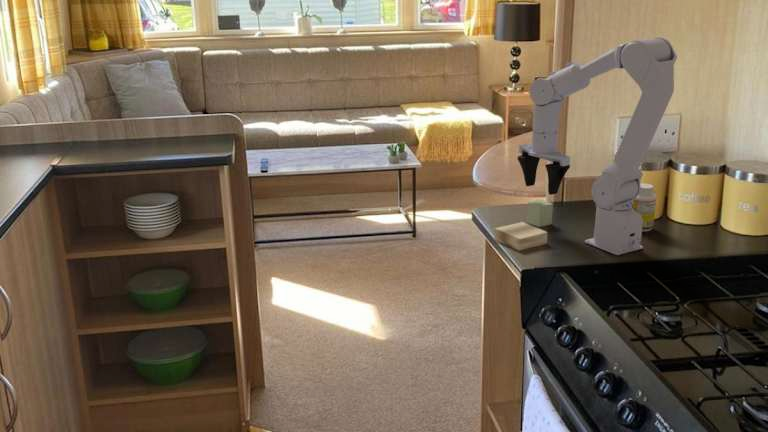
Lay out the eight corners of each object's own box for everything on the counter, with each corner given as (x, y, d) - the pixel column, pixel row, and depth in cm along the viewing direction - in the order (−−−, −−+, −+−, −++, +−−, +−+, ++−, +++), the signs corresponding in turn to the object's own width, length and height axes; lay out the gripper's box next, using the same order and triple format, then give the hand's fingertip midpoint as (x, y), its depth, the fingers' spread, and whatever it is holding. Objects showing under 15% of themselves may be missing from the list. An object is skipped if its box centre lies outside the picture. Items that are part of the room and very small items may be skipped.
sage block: (551, 224, 184) (553, 203, 182) (538, 227, 182) (540, 206, 180) (539, 219, 187) (540, 199, 185) (526, 222, 185) (528, 202, 183)
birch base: (546, 245, 171) (547, 232, 170) (518, 252, 167) (519, 238, 166) (521, 234, 178) (522, 221, 177) (494, 241, 174) (494, 228, 173)
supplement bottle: (628, 223, 184) (632, 181, 181) (653, 226, 182) (658, 183, 179) (626, 230, 179) (630, 187, 176) (652, 233, 177) (657, 190, 174)
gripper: (510, 127, 181) (507, 184, 185) (555, 139, 169) (550, 200, 174) (533, 124, 185) (529, 180, 189) (578, 136, 173) (573, 195, 177)
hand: (541, 189), depth 182 cm, fingers open, 7 cm apart
